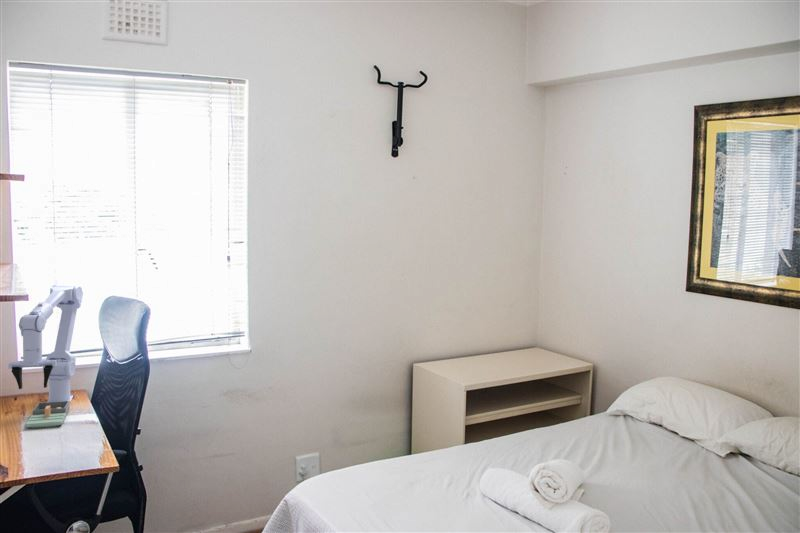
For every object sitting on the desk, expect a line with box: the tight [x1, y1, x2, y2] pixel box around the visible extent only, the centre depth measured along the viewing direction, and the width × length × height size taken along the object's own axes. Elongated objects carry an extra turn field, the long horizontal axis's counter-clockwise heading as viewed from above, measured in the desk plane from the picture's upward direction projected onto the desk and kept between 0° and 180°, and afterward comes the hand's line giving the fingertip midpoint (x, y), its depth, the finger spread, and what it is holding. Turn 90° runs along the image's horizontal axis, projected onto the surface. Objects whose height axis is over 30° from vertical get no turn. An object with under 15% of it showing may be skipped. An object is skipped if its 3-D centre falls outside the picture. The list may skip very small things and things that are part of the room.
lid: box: [25, 406, 67, 429], centre depth 219 cm, size 10×10×5 cm
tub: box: [32, 401, 71, 417], centre depth 229 cm, size 10×10×3 cm
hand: (33, 387), depth 229 cm, fingers open, 7 cm apart
